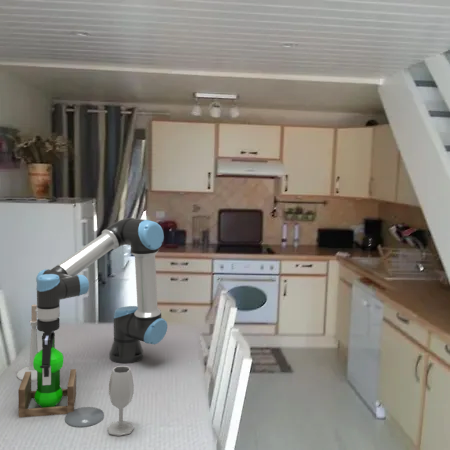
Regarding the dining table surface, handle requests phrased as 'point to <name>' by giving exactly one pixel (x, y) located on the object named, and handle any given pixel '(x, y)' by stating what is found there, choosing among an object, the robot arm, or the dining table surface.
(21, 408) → the walnut cradle
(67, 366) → the dining table surface
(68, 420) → the slate coaster
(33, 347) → the candlestick
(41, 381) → the plastic bottle
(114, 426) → the wineglass
